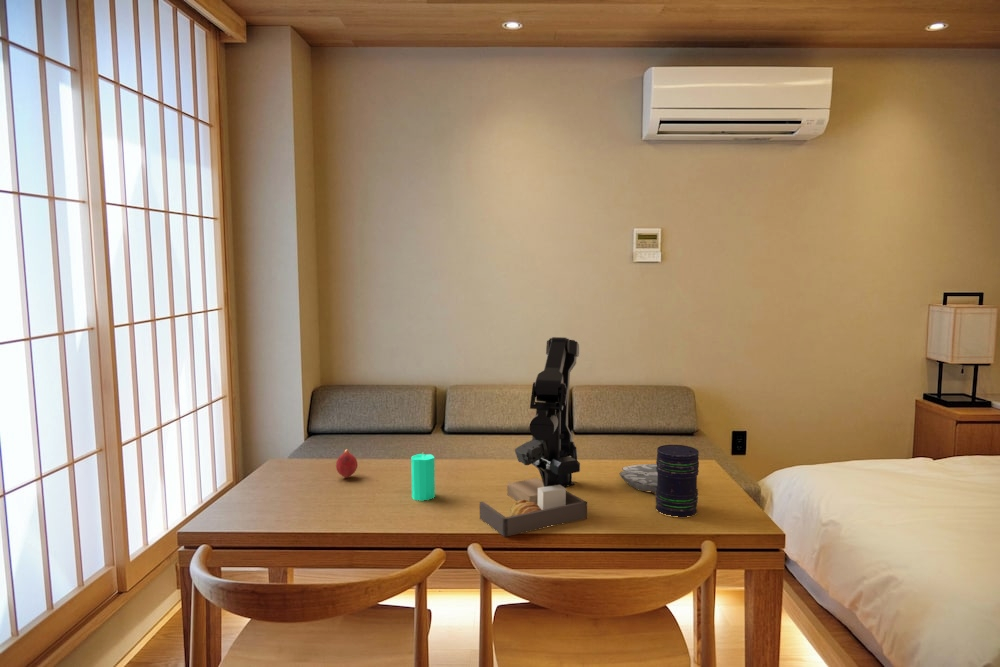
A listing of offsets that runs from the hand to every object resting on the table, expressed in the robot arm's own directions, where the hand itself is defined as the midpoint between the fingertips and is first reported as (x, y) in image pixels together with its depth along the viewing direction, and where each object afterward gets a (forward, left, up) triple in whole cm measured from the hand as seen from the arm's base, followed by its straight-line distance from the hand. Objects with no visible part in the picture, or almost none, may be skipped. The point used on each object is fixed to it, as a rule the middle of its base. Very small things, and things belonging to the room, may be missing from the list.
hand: (548, 492), depth 165 cm
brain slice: (-34, -1, -4) cm, 34 cm away
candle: (+24, -21, -4) cm, 32 cm away
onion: (+37, -45, -4) cm, 59 cm away
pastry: (+8, +4, -4) cm, 10 cm away
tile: (+1, +2, -1) cm, 2 cm away
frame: (+7, +5, -4) cm, 9 cm away
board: (0, -7, -4) cm, 8 cm away
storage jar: (-26, +17, -4) cm, 31 cm away
